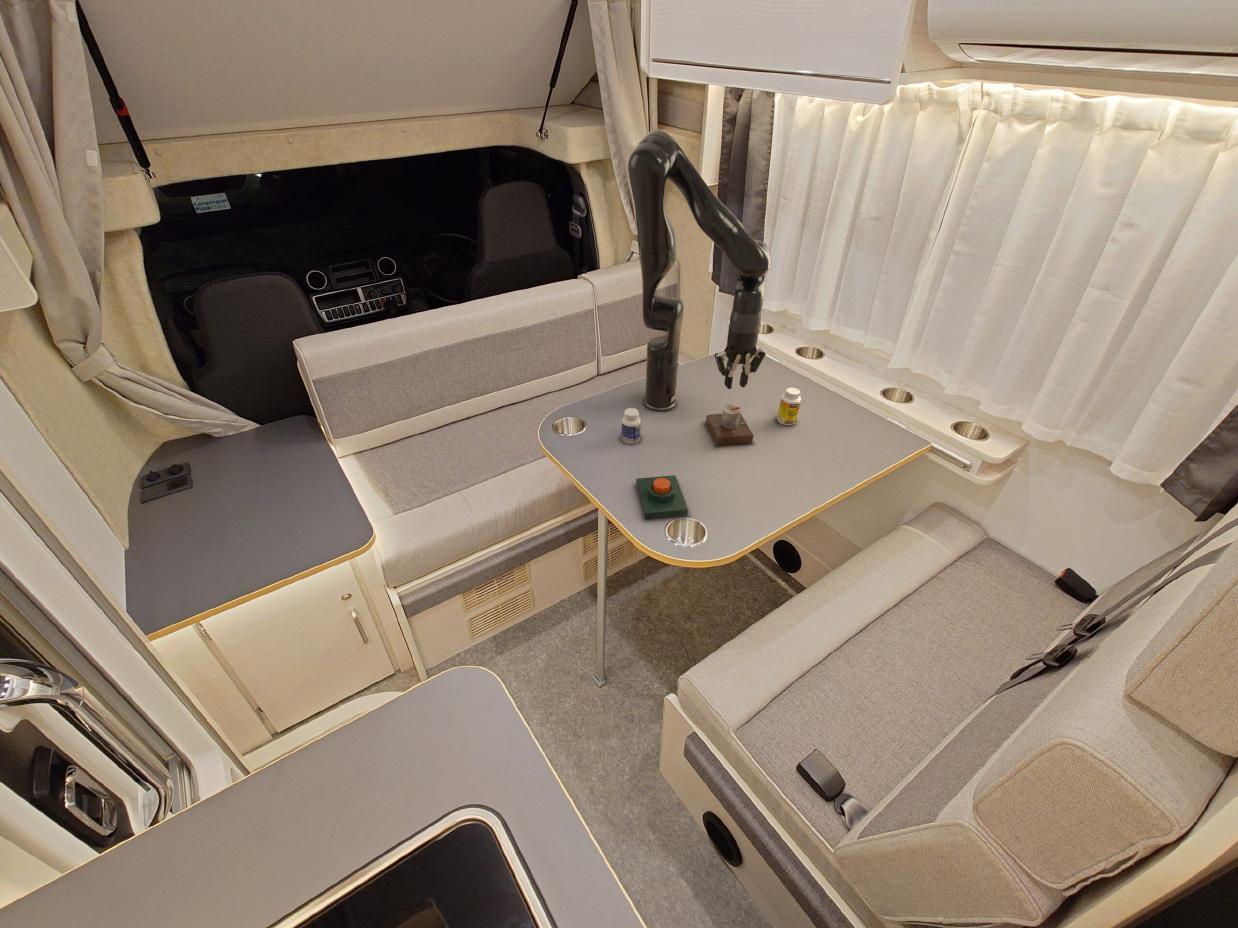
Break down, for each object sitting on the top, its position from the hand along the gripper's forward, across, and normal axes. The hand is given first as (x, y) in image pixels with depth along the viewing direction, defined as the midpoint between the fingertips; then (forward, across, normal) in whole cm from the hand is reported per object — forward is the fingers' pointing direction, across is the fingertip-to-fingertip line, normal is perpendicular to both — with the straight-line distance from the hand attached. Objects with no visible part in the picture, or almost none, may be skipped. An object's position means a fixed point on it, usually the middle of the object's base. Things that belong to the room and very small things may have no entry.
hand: (735, 386), depth 150 cm
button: (+12, +27, +24) cm, 38 cm away
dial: (+12, 0, 0) cm, 12 cm away
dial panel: (+15, 0, 0) cm, 15 cm away
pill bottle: (+15, +28, -3) cm, 32 cm away
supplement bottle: (+15, -19, -2) cm, 25 cm away
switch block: (+15, +27, +24) cm, 39 cm away
